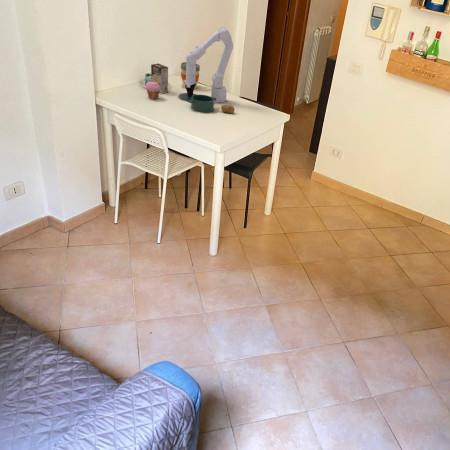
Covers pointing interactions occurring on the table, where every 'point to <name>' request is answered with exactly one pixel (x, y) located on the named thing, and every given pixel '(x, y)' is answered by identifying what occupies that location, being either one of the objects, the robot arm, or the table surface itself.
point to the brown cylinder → (227, 108)
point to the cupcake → (153, 89)
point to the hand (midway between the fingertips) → (190, 95)
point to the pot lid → (185, 96)
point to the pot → (202, 103)
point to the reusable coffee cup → (183, 73)
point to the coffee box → (160, 76)
